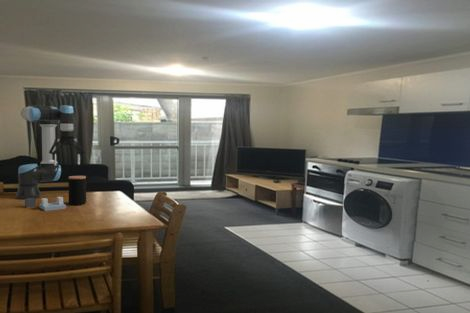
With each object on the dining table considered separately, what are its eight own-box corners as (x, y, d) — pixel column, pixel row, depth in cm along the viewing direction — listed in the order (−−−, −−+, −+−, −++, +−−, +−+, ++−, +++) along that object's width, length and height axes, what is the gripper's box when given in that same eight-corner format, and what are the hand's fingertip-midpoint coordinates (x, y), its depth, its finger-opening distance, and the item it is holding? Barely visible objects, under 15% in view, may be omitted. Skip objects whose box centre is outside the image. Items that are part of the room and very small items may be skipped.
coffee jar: (89, 202, 247) (89, 176, 246) (81, 206, 237) (80, 178, 236) (74, 202, 248) (73, 175, 247) (65, 205, 238) (65, 177, 237)
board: (39, 206, 231) (38, 197, 231) (59, 204, 239) (59, 195, 239) (44, 210, 221) (44, 201, 220) (66, 208, 229) (66, 198, 228)
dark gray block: (25, 206, 232) (24, 198, 231) (34, 205, 235) (33, 198, 235) (26, 207, 229) (26, 199, 228) (35, 206, 232) (35, 198, 232)
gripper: (45, 130, 219) (46, 166, 221) (89, 131, 234) (89, 164, 235) (43, 130, 225) (44, 164, 227) (86, 130, 240) (86, 163, 241)
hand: (67, 164), depth 231 cm, fingers open, 13 cm apart
